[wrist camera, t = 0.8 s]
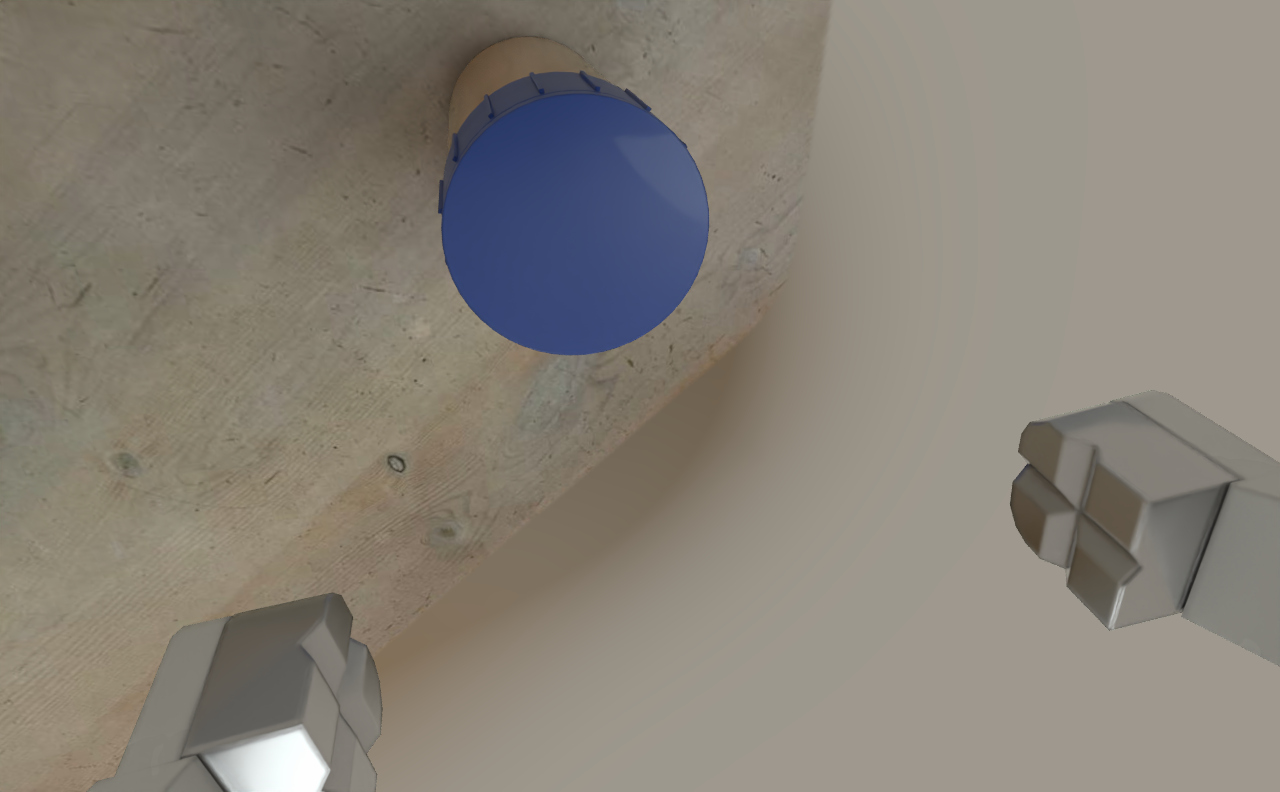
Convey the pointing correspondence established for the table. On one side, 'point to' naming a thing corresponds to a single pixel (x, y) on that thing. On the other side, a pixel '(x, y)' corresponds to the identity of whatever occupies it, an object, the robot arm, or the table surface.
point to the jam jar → (508, 72)
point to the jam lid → (571, 214)
